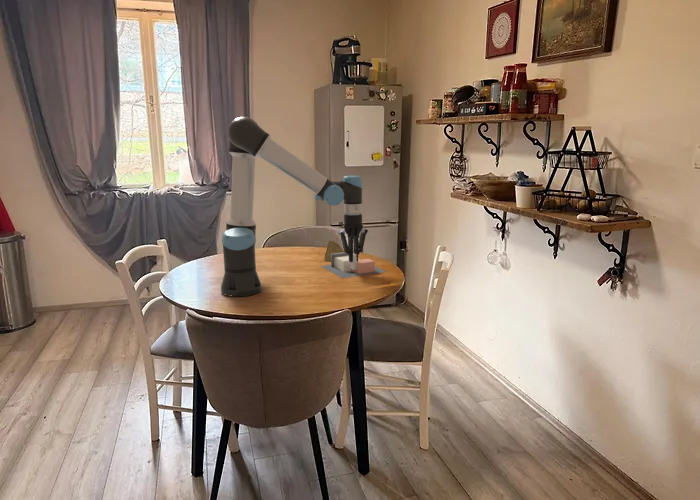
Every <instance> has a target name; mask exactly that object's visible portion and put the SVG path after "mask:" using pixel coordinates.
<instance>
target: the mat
mask: <svg viewBox="0 0 700 500" xmlns="http://www.w3.org/2000/svg"><path fill="white" fill-rule="evenodd" d="M320 267H321V268H323V269H325V270H327V271H328V272H331V273H332V274H334V275H336V276H337V277H339V278H341V279H348V278H354V277H355V278H356V277H361V276H368V275H372V274H373V275H374V274H380V273H387V271H386V270H384V269H381V268H380V267H378V266H375V272H368V273H362V274H357V273H355V272H353V271H352V270H350V271H342V270H340V269H338V268H336V267H331V264H326V265H320Z"/></svg>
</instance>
